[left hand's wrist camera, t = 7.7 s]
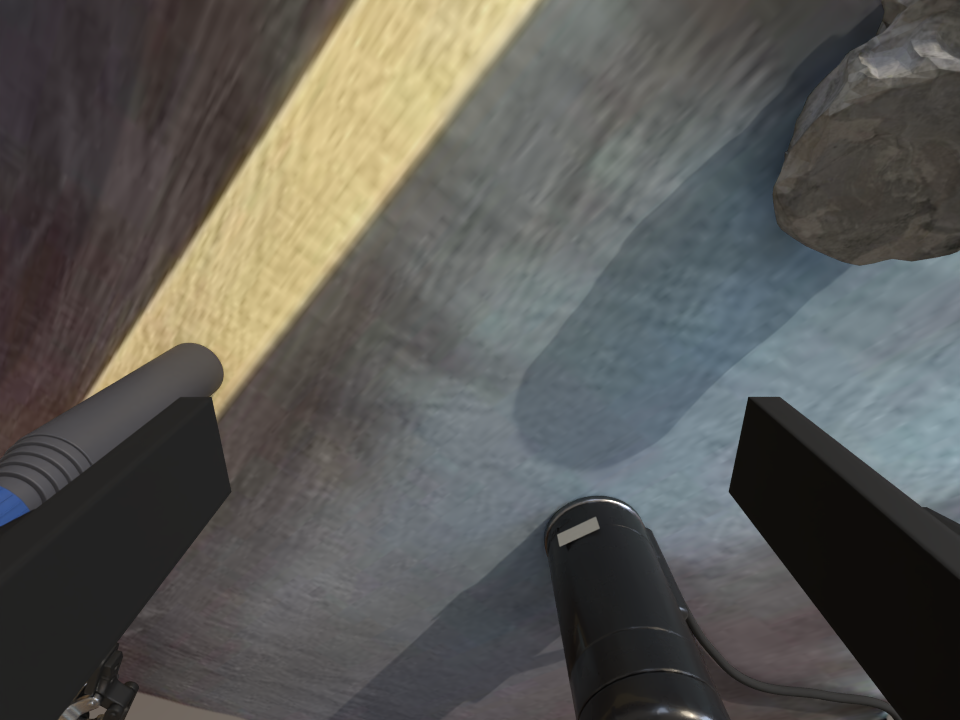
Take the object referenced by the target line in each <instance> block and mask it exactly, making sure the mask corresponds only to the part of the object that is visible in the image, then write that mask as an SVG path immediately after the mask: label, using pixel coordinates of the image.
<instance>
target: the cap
mask: <svg viewBox="0 0 960 720" xmlns="http://www.w3.org/2000/svg"><path fill="white" fill-rule="evenodd" d="M29 511H30V510H29V509H28V507H27V506H26V504H25V503H24V502H23V501H22V500H21V499H20V498H19V497H18V496H16V495H15V494H14V493H12V492H11V491H9V490H7V489H6V488H3V487H1V486H0V526H2V525H4V524H6V523H8V522H10V521H12V520H14V519H16V518H18V517H20V516H21V515H23V514H25V513H27V512H29Z"/></svg>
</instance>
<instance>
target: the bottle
mask: <svg viewBox="0 0 960 720" xmlns="http://www.w3.org/2000/svg"><path fill="white" fill-rule="evenodd" d="M222 381H223V368H222V365H221V362H220V361H219V359H218V358H217V356H216V355H215V354H214V353H213V352H212V351H210V350H209V349H208V348H206V347H204V346H201V345H199V344H194V343H183V344H180V345H177V346H175V347H174V348H172V349H170V350H168V351H167V352H165V353H163V354H162V355H160V356H158V357H157V358H155V359H153V360H152V361H150V362H148V363H147V364H145V365H143V366H142V367H140V368H138V369H137V370H135V371H133V372H132V373H130V374H128V375H127V376H125V377H123V378H122V379H120V380H118V381H116V382H115V383H113V384H111V385H110V386H108V387H106V388H105V389H103V390H101V391H100V392H98V393H96V394H95V395H93V396H91V397H90V398H88V399H86V400H85V401H83V402H81V403H80V404H78V405H76V406H75V407H73V408H71V409H70V410H68V411H66V412H64V413H63V414H61V415H59V416H58V417H56V418H54V419H53V420H51V421H49V422H48V423H46V424H44V425H43V426H41V427H39V428H38V429H36V430H34V431H33V432H31V433H29V434H28V435H26V436H24V437H23V438H21V439H19V440H18V441H17V442H16V443H15V444H14V445H13V446H12V447H10V448H9V449H8V450H7V451H6V453H5V454H4V456H3V457H2V458H1V459H0V486H1V487H3V488H6V489H7V490H9V491H11V492H12V493H14V494H15V495H16V496H18V497H19V498H20V499H21V500H22V501H23V502H24V503H25V504H26V506H27V507H28V509H29V510H30V511H31V510H33V509H36V508H38V507H39V506H40V505H41V504H43V503H44V502H45V501H47V500H48V499H49V498H50V497H52V496H53V495H54V494H56V493H57V492H58V491H60V490H61V489H62V488H63V487H65V486H66V485H67V484H69V483H70V482H71V481H72V480H74V479H75V478H76V477H78V476H79V475H80V474H81V473H83V472H84V471H85V470H87V469H88V468H89V467H90V466H92V465H93V464H94V463H96V462H97V461H98V460H100V459H101V458H102V457H103V456H105V455H106V454H107V453H109V452H110V451H111V450H112V449H114V448H115V447H116V446H118V445H119V444H120V443H121V442H123V441H124V440H125V439H127V438H128V437H129V436H131V435H132V434H133V433H134V432H136V431H137V430H138V429H140V428H141V427H142V426H143V425H145V424H146V423H147V422H149V421H150V420H151V419H152V418H154V417H155V416H156V415H158V414H159V413H160V412H162V411H163V410H164V409H165V408H167V407H168V406H169V405H171V404H172V403H173V402H174V401H176V400H177V399H178V398H180V397H209V396H210V395H211V394H213V393H214V392H215V391H216V390H217V389H218V388H219V387H220V385H221V384H222Z"/></svg>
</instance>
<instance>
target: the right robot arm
mask: <svg viewBox="0 0 960 720" xmlns="http://www.w3.org/2000/svg"><path fill="white" fill-rule="evenodd" d="M544 543H545V549H546V553H547V556H548V560H549V566H550V572H551V579H552V584H553V590H554V596H555V601H556V607H557V613H558V619H559V624H560V630H561V636H562V641H563V647H564V653H565V659H566V664H567V670H568V676H569V681H570V687H571V692H572V698H573V704H574V709H575V715H576V720H731V719H730V717H729V715H728V713H727V711H726V709H725V706H724V704H723V702H722V700H721V698H720V696H719V693H718V691H717V689H716V687H715V685H714V682H713V680H712V678H711V676H710V674H709V671H708V669H707V667H706V665H705V662H704V660H703V658H702V656H701V654H700V652H699V650H698V647H697V645H696V643H695V641H694V639H693V636H692V634H691V632H690V630H689V628H690V629H691V631H692V632H693V634H694V636H695V637H696V639H697V640H698V641H699V643H700V644H701V645H702V646H703V648H704V649H705V650H706V651H707V652H708V653H709V654H710V656H711V657H712V658H713V659H714V660H715V661H716V662H717V664H718V665H719V666H720V667H721V668H722V669H723V670H724V671H725V672H726V673H727V674H729V675H730V676H731V677H733V678H734V679H735V680H737V681H739V682H740V683H742V684H744V685H746V686H748V687H751V688H753V689H756V690H759V691H763V692H767V693H772V694H778V695H786V696H797V697H808V698H816V699H822V700H828V701H834V702H841V703H851V704H860V705H867V706H872V707H875V708H878V709H881V710H883V711H885V712H887V713H888V714H890V715H891V716H892V718H893V719H894V720H902V719H901V718H900V716H899V715H898V714H897V712H896V711H895V710H894V709H893V707H892V706H891V705H889V704H888V703H886V702H884V701H882V700H879V699H876V698H872V697H867V696H861V695H853V694H843V693H834V692H828V691H822V690H817V689H810V688H800V687H789V686H779V685H772V684H768V683H763V682H760V681H757V680H755V679H752V678H750V677H748V676H746V675H744V674H742V673H741V672H739V671H738V670H736V669H735V668H734V667H732V666H731V665H730V664H729V663H728V662H727V661H726V660H725V659H724V658H723V657H722V656H721V655H720V653H719V652H718V651H717V650H716V649H715V648H714V646H713V645H712V644H711V643H710V642H709V641H708V639H707V638H706V637H705V635H704V634H703V632H702V631H701V629H700V627H699V626H698V624H697V622H696V621H695V619H694V617H693V615H692V613H691V611H690V610H689V608H688V606H687V604H686V603H685V601H684V599H683V597H682V594H681V592H680V590H679V588H678V586H677V584H676V582H675V580H674V577H673V575H672V573H671V571H670V569H669V567H668V565H667V563H666V560H665V558H664V556H663V554H662V552H661V550H660V548H659V545H658V543H657V541H656V539H655V537H654V535H653V533H652V531H651V530H650V529H647V528H645V527H644V524H643V522H642V520H641V518H640V516H639V515H638V513H637V512H636V511H635V510H634V509H633V508H632V507H631V506H630V505H628V504H627V503H625V502H623V501H621V500H618V499H616V498H612V497H607V496H590V497H584V498H580V499H577V500H575V501H572V502H570V503H568V504H567V505H565V506H564V507H562V508H561V509H560V510H559V511H557V512H556V513H555V515H554V516H553V517H552V518H551V520H550V521H549V523H548V525H547V528H546V531H545V536H544ZM685 620H686V621H685ZM686 622H687V623H686ZM687 624H688V625H687ZM688 626H689V627H688ZM118 646H119V643H116V644H115V645H114V647H113V648H112V649H111V651H110V652H109V653H108V655H107V656H106V657H105V659H104V660H103V661H102V662H101V664H100V665H99V666H98V668H97V669H96V670H95V672H94V673H93V674H92V676H91V677H90V678H89V680H88V681H87V682H86V684H85V685H84V686H83V687H82V689H81V690H80V691H79V693H78V694H77V695H76V697H75V698H74V699H73V701H72V702H71V703H70V705H69V706H68V707H67V709H66V710H65V711H64V712H63V714H62V715H61V716H60V718H59V719H58V720H124V719H125V717H126V715H127V713H128V711H129V709H130V706H131V704H132V702H133V700H134V698H135V696H136V693H137V691H138V689H139V686H138V685H137V684H136V683H135V682H130V681H129V682H126V683H125V684H123V683H121V682H120V681H119V680H118V678H119V675H118V670H119V667H120V664H121V661H122V658H123V655H122V652H121V651H118V650H117V649H118ZM99 706H102V707H104V708H106V709H107V711H106V712H105V714H101V715H98V716H97V718H95V719H89V711H91V710H94V709H96V708H98V707H99ZM886 720H887V719H886Z"/></svg>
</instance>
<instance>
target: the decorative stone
mask: <svg viewBox="0 0 960 720" xmlns="http://www.w3.org/2000/svg"><path fill="white" fill-rule="evenodd" d="M881 3H882V6H883V9H884V16H883V20H882V23H881V25H880V26H879V29H878V31H877V34H876V36H875V37H873V38H872V39H870V40H869V41H868V42H867V43H865V44H863V45H861V46H859V47H857V48H855V49H853V50H851V51H850V52H849V53H847V54H846V56H845V57H844V59H843V60H842V61H841V63H840V64H839V65H838V66H837V67H836V68H835V69H834V70H833V71H832V72H830V73H829V74H828V75H827V76H826V77H825V78H824V79H823V80H822V81H821V82H820V83H819V84H818V85H817V86H816V88H815V89H814V90H813V91H812V92H811V94H810V95H809V96H808V97H807V100H806V102H805V105H804V108H803V110H802V112H801V114H800V115H799V117H798V118H797V120H796V124H795V129H794V134H793V137H792V140H791V142H790V145H789V148H788V151H786V152H785V161H784V163H783V166H782V170H781V173H780V175H779V177H778V179H777V181H776V183H775V185H774V188H773V203H774V210H775V215H776V220H777V224H778V226H779V227H780V228H781V229H782V230H783V231H784V232H786V233H787V234H788V235H790V236H791V237H793V238H794V239H796V240H797V241H799V242H801V243H802V244H804V245H805V246H807V247H809V248H812V249H814V250H816V251H818V252H821V253H823V254H825V255H827V256H830V257H832V258H835V259H837V260H839V261H842V262H845V263H850V264H854V265H859V266H860V265H866V264H872V263H876V262H880V261H884V260H889V259H898V260H905V261H917V260H923V259H930V258H936V257H941V256H945V255H950V254H953V253H955V252H958V251H959V250H960V0H881Z"/></svg>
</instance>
